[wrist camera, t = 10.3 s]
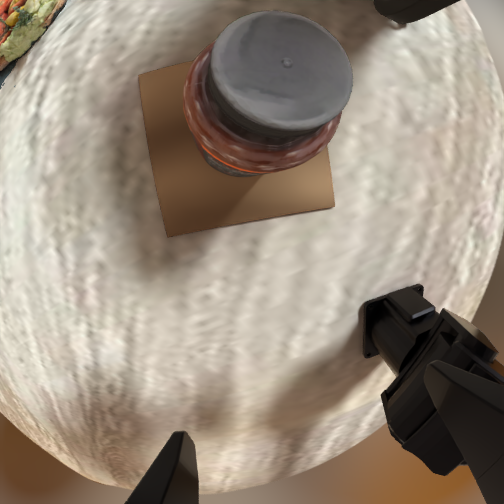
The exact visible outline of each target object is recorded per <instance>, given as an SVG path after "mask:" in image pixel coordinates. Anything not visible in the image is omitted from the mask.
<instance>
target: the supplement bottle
mask: <svg viewBox="0 0 504 504" xmlns="http://www.w3.org/2000/svg"><path fill="white" fill-rule="evenodd" d="M352 86H353V74H352V68H351V64H350V61H349V59H348V56H347V54H346V52H345V50H344V49H343V47H342V46H341V44H340V43H339V42H338V40H337V39H336V38H335V37H334V36H333V35H332V34H330V32H329V31H328V30H326V29H325V28H324V27H322V26H321V25H319V24H318V23H316V22H314V21H312V20H310V19H309V18H307V17H303V16H301V15H297V14H293V13H289V12H281V11H277V10H274V11H261V12H255V13H252V14H249V15H246V16H243V17H241V18H239V19H237V20H236V21H234V22H232V23H231V24H229V25H228V26H227V27H226V28H225V29H224V30H223V32H222V33H221V34H220V35H219V36H218V37H217V40H215V41H213V42H212V43H211V44H209V45H208V46H207V47H206V48H205V49H204V50H203V51H202V52H200V54H199V55H198V56H197V57H196V58H195V60H194V62H193V63H192V65H191V67H190V69H189V71H188V73H187V76H186V79H185V83H184V90H183V108H184V113H185V117H186V120H187V123H188V126H189V128H190V131H191V134H192V136H193V139H194V141H195V144H196V146H197V148H198V150H199V152H200V153H201V155H202V157H203V158H204V159H205V161H206V162H207V163H208V164H209V165H210V166H211V167H212V168H214V169H216V170H217V171H219V172H221V173H224V174H226V175H230V176H235V177H252V176H257V175H262V174H268V173H276V172H279V171H283V170H287V169H291V168H294V167H296V166H299V165H301V164H303V163H305V162H307V161H308V160H310V159H311V158H313V157H315V156H316V155H317V154H319V153H320V152H321V151H322V150H323V149H324V148H325V147H326V146H327V144H328V143H329V142H330V140H331V139H332V137H333V136H334V133H335V132H336V129H337V127H338V125H339V123H340V119H341V114H342V110H343V109H344V107H345V106H346V104H347V102H348V100H349V98H350V94H351V92H352Z"/></svg>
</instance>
